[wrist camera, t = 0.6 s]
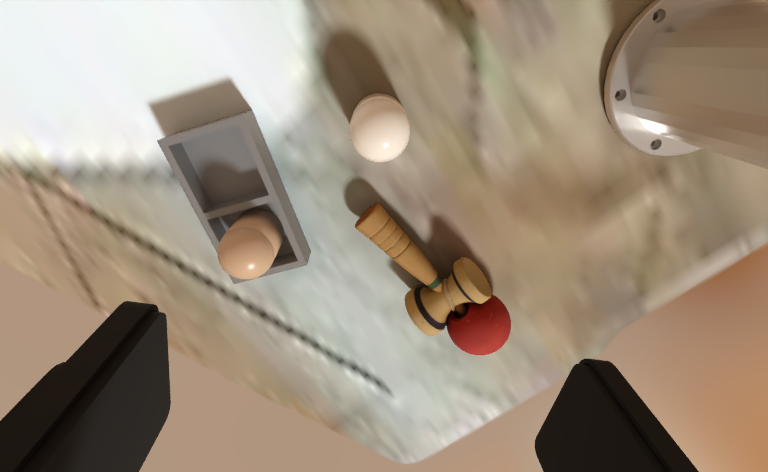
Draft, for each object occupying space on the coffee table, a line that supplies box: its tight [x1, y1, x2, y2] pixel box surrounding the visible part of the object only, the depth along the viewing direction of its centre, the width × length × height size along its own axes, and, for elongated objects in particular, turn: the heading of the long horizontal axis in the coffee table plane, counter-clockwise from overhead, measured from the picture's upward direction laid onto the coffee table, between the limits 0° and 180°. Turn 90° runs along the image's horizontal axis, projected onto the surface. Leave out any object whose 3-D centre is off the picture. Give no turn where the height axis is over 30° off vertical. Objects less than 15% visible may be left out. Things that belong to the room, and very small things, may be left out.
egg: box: [349, 93, 410, 162], centre depth 29 cm, size 4×4×6 cm
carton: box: [157, 110, 311, 284], centre depth 31 cm, size 7×13×7 cm, turn 16°
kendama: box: [355, 203, 511, 355], centre depth 36 cm, size 8×6×18 cm
